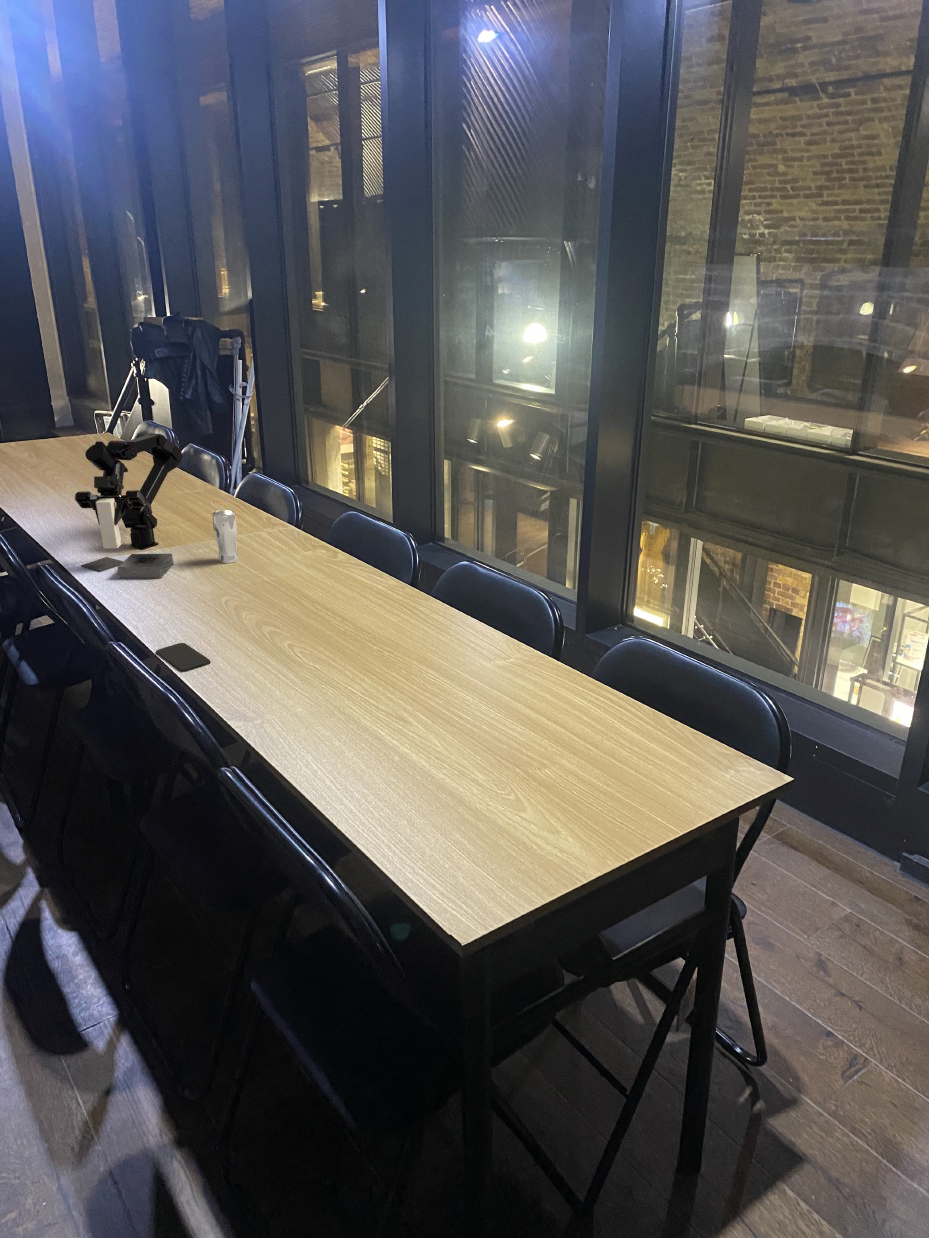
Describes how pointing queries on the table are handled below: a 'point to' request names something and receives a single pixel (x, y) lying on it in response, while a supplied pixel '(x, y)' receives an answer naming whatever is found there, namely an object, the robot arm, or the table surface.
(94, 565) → the mat
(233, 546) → the beer glass
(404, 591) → the table surface
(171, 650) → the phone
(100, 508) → the peg
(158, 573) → the socket block
